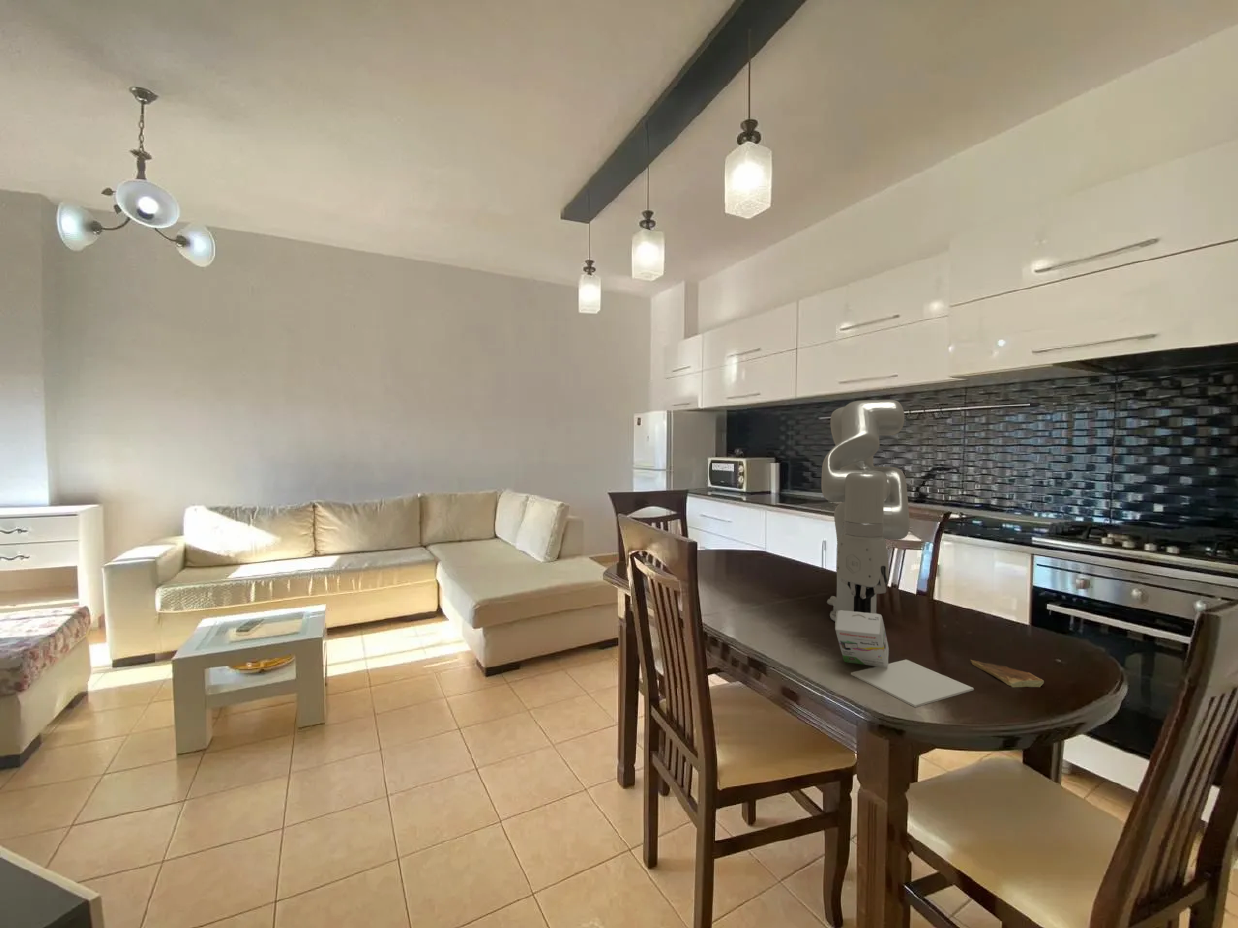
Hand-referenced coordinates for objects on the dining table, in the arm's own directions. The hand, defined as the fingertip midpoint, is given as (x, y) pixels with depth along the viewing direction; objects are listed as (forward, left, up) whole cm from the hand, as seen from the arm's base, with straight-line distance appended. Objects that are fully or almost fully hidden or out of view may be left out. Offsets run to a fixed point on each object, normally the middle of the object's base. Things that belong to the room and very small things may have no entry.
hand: (862, 614), depth 109 cm
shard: (+17, +19, -11) cm, 28 cm away
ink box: (+2, 0, -8) cm, 8 cm away
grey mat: (+11, 0, -10) cm, 15 cm away
